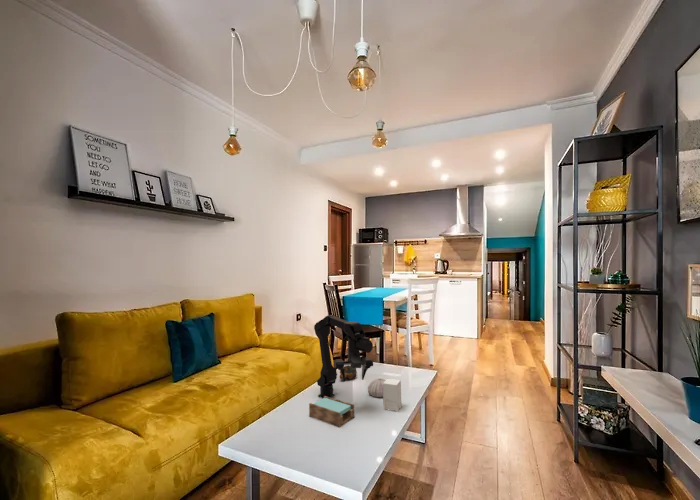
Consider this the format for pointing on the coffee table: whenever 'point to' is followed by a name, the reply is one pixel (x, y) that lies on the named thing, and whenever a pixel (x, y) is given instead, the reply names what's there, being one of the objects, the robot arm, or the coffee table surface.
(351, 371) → the decorative turtle
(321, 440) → the coffee table surface
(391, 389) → the supplement box
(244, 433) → the coffee table surface
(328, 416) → the brown wooden box
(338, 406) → the cover plate
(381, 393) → the sea urchin shell
